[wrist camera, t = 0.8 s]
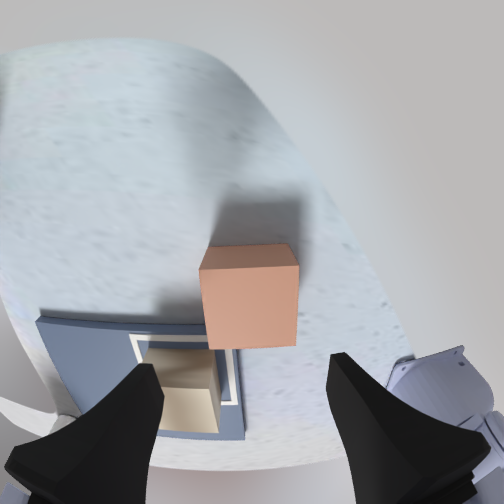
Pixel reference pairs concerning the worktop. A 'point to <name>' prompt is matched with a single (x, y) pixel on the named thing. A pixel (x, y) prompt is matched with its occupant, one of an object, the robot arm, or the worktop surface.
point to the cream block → (188, 388)
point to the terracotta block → (250, 296)
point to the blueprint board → (134, 363)
